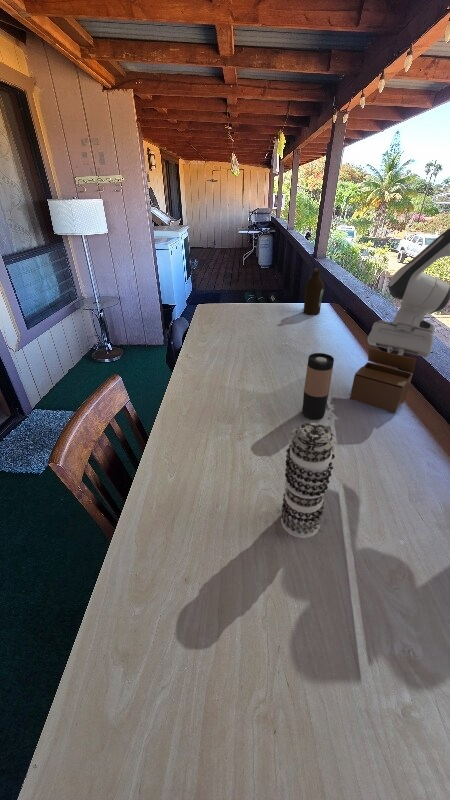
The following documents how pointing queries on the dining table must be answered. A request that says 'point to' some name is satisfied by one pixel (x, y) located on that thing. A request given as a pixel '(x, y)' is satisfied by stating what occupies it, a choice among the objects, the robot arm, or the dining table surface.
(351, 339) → the dining table surface
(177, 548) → the dining table surface
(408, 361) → the flap
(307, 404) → the travel mug
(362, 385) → the carton
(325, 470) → the decorative candle
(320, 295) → the olive oil
